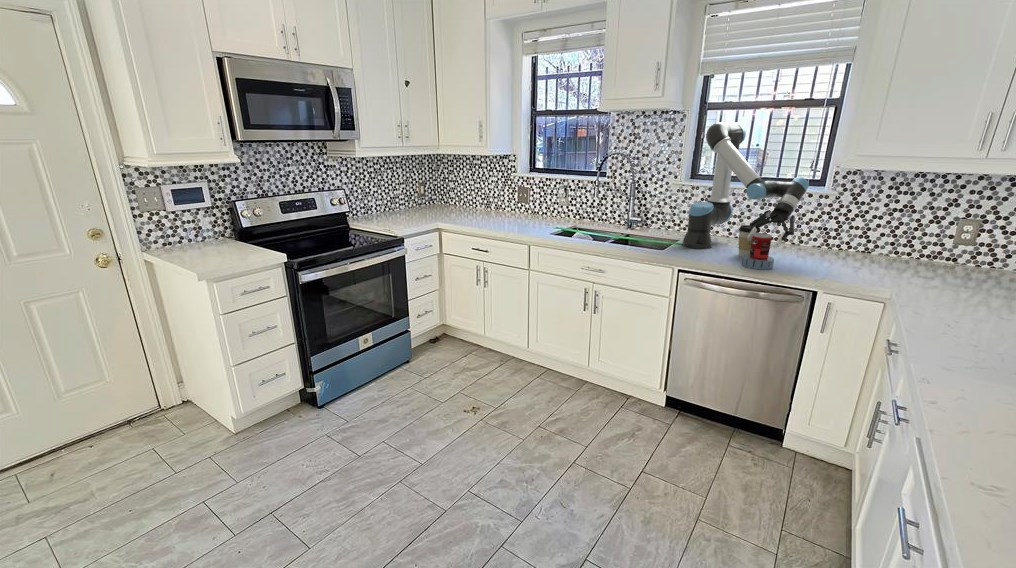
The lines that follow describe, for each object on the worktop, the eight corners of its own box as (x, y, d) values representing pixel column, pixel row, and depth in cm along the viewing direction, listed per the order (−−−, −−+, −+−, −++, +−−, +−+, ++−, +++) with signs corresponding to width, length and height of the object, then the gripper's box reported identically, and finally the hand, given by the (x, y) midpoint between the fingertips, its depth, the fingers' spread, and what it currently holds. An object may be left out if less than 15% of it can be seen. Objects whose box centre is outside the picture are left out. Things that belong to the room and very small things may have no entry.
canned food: (750, 254, 226) (754, 232, 222) (769, 256, 221) (773, 234, 218) (747, 258, 220) (751, 235, 216) (766, 260, 215) (770, 237, 212)
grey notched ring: (736, 264, 223) (737, 256, 222) (751, 260, 230) (752, 252, 229) (762, 271, 213) (764, 262, 212) (777, 266, 220) (779, 258, 219)
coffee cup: (758, 258, 233) (763, 229, 228) (737, 257, 235) (741, 228, 230) (752, 253, 242) (757, 225, 237) (732, 252, 244) (736, 224, 239)
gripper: (815, 215, 212) (791, 252, 209) (762, 207, 232) (739, 241, 229) (812, 205, 207) (787, 242, 205) (757, 198, 227) (735, 232, 225)
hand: (762, 242), depth 217 cm, fingers open, 13 cm apart
